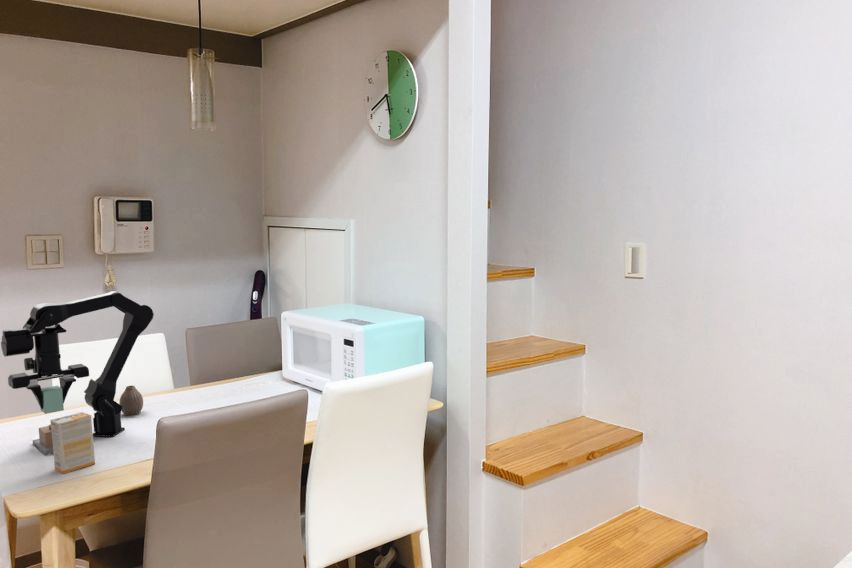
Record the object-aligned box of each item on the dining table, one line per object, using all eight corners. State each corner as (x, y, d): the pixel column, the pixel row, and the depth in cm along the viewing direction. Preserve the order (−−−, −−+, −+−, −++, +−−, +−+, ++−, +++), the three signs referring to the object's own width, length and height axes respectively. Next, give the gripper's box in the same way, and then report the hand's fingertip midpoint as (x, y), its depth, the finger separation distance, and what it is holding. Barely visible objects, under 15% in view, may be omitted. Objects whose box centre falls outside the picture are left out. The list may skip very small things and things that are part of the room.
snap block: (59, 406, 194) (57, 385, 193) (63, 410, 190) (62, 388, 189) (40, 410, 191) (38, 388, 190) (45, 413, 187) (43, 392, 186)
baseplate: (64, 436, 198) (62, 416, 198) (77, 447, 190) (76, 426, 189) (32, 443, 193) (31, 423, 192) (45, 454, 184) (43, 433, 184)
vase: (115, 416, 217) (113, 388, 216) (129, 409, 223) (127, 383, 222) (134, 417, 215) (132, 390, 214) (148, 411, 222) (146, 384, 221)
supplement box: (86, 460, 181) (83, 411, 179) (95, 464, 177) (92, 414, 176) (53, 469, 174) (49, 419, 173) (62, 474, 171) (58, 422, 170)
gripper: (75, 341, 200) (79, 393, 202) (1, 351, 188) (6, 407, 190) (87, 346, 192) (91, 401, 194) (10, 358, 180) (16, 416, 182)
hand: (52, 406), depth 190 cm, fingers closed on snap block, 5 cm apart
